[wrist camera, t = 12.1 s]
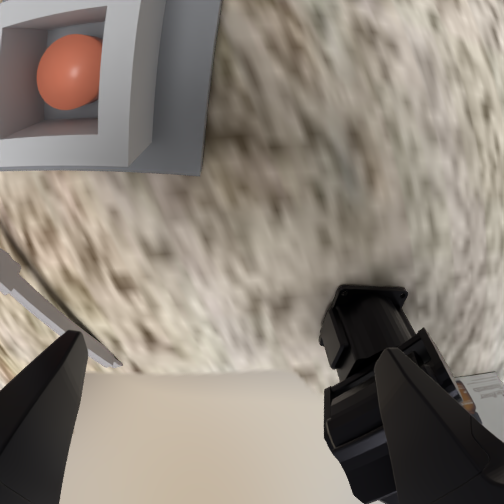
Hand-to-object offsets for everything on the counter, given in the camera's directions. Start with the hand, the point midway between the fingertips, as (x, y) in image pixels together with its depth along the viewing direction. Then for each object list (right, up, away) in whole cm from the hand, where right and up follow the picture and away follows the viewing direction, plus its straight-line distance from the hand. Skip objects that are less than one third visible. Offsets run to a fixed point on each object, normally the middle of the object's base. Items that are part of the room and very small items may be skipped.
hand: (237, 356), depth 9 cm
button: (-9, +13, +5) cm, 16 cm away
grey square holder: (-9, +14, +6) cm, 17 cm away
